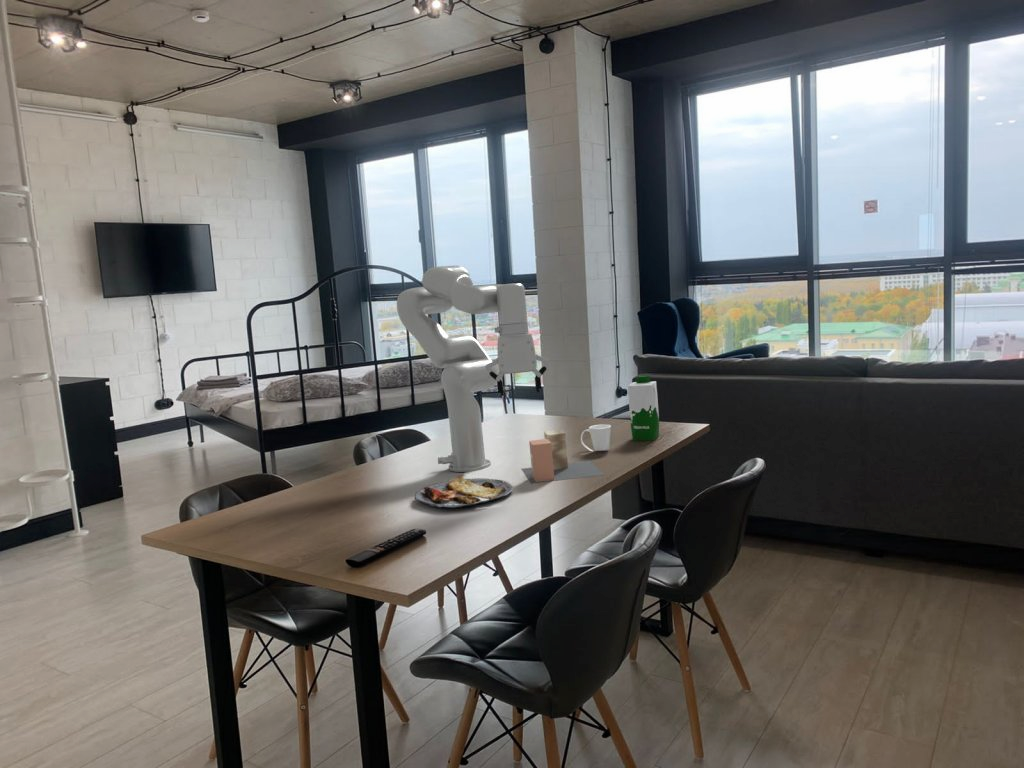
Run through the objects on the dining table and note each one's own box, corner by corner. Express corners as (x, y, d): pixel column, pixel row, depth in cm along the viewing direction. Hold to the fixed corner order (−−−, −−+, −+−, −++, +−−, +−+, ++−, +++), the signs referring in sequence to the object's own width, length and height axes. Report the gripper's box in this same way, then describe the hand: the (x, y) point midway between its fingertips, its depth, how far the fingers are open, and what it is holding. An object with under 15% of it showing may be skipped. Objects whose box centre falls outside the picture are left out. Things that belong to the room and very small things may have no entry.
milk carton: (662, 435, 250) (658, 374, 248) (656, 441, 242) (651, 378, 240) (635, 435, 254) (631, 375, 251) (629, 441, 246) (624, 379, 243)
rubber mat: (531, 485, 202) (530, 483, 202) (521, 470, 220) (521, 468, 220) (604, 476, 205) (604, 474, 205) (589, 461, 222) (589, 460, 222)
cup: (608, 455, 228) (606, 428, 227) (577, 454, 233) (575, 428, 232) (616, 450, 235) (614, 424, 234) (586, 449, 239) (584, 424, 238)
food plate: (399, 500, 199) (398, 487, 198) (471, 481, 213) (470, 468, 213) (455, 519, 179) (454, 505, 179) (530, 497, 194) (529, 483, 194)
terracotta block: (535, 482, 203) (532, 445, 202) (531, 476, 209) (528, 441, 208) (554, 479, 204) (551, 442, 203) (550, 474, 210) (547, 438, 209)
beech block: (550, 470, 215) (547, 435, 214) (546, 465, 221) (543, 431, 220) (568, 468, 216) (565, 433, 214) (564, 463, 221) (561, 429, 220)
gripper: (482, 334, 201) (488, 398, 203) (547, 327, 201) (553, 392, 203) (481, 332, 208) (487, 395, 210) (545, 326, 209) (550, 388, 211)
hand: (520, 393), depth 207 cm, fingers open, 9 cm apart
